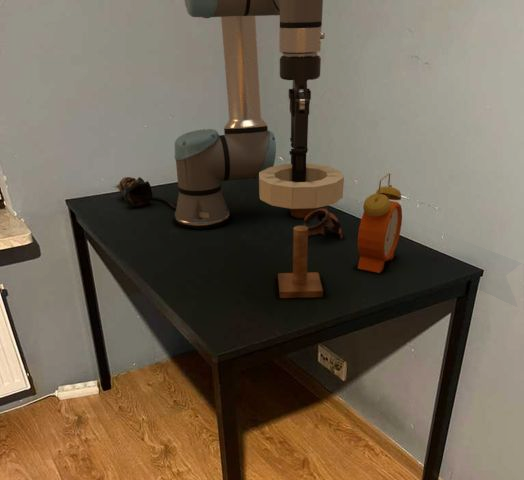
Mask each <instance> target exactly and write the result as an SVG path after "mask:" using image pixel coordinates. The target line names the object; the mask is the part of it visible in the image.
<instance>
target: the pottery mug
mask: <svg viewBox="0 0 524 480" xmlns="http://www.w3.org/2000/svg"><path fill="white" fill-rule="evenodd" d="M313 218H316V219H317V220H318V223H316V224H314V225H308V223H309V222H310V221H311V220H313ZM302 226H306V227H308V237H313V236H317V235H326V233H325V229H328V228H330V229H331V233H337V234H338V236H339V239H340V240H342V239H343V230H342V226H341V223H340V221H339V218H338V217H336V215H335V214H333V213H332V212H330V210H329V209H328V207H326V206H323V207H321V208H316V209H315V210H313V212H311V213H310V214H308V215H307V216H306V217H305V218H303V224H302Z"/></svg>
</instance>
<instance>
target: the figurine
mask: <svg viewBox="0 0 524 480" xmlns="http://www.w3.org/2000/svg"><path fill="white" fill-rule="evenodd" d="M118 184H119V185H118ZM118 184H117V188H118V190H119V193H120V197H121V198H122V199H123V198H124V200H125V202H126V203H127V204H128V206H129V207H130V208H131V209H135V208H136V207H142V206H148V205H150V204H152V202H151V200H152V199H151V198H152V197H153V190H152V186H151V184H150V182H149V181H148V180H147V181H145V180H144V179H143V178H142V177H141V176H139V177H138V178H135V177H131V176H126V177H123V178H122V179H121V180H120V181H119V182H118Z"/></svg>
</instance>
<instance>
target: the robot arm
mask: <svg viewBox="0 0 524 480" xmlns="http://www.w3.org/2000/svg"><path fill="white" fill-rule="evenodd" d="M184 5H185V8H186V12H187V14H188V16H190V17H192V18H203V19H210V18H220V21H221V23H220V24H221V35H222V47H223V59H224V73H225V74H224V75H225V82H226V83H225V86H226V87H225V88H226V99H227V111H228V121H227V123H226V124H225V125H224V126H223V131H224V134H219V132H218V130H216V129H212V128H208V129H204V128H203V129H197V130H192V131H189V132H186V133H182V134H181V135H180V136H177V138H176V139H175V141H174V160H175V166H176V177H177V186H178V197H177V202H176V205H174V204H173V203H172V202H170V200H168V199H166V198H163V197H160V196H159V197H158V196H152V198H151V199H150V200H157V201H161V202H164V203H166V204H167V205H168V206H170V208H172V209H174V210H175V212H174V222H175V224H176V225H177V226H179V227H182V228H185V229H190V230H207V229H214V228H218V227H220V226H223V225H225V224H227V223H228V222H229V221H230V211H229V208H228V206H227V203H226V200H225V198H224V194H223V192H222V182H225V181H227V182H228V181H236V180H245V179H246V180H248V179H257V178H259V172H261V171H263V170H265V169H267V168H269V167H274V166H275V161H276V155H277V142H276V136H275V134H274V133H273V131H271V130H268V129H269V127H268V123H267V122H266V121H265V120H264V119H263V118H262V108H261V107H262V105H261V104H262V103H261V90H260V72H259V71H260V70H259V52H258V35H257V34H258V33H257V20H256V19H257V17H264V16H265V17H267V16H276V17H277V16H279V29H278V30H279V31H278V32H279V33H278V40H279V41H278V42H279V43H278V45H279V46H278V47H279V48H278V50H279V53H280V54H282V55H281V56H280V57H279V78H280V79H282V80H285V81H292V88H288V99H289V113H290V138H289V140H290V146H291V149H290V150H289V155H290V164H292V182H306V164H307V154H308V151H309V148H308V141H309V140H308V139H309V137H308V136H309V115H310V103H311V99H312V90H311V89H310V88H308V81H314V80H317V79H319V78H320V77H321V68H322V67H321V65H322V63H321V62H322V58H321V56H320V55H318V54H319V53H320V52H321V51H322V41H321V40H324V39H325V38H326V35H325V33H324V32H322V27H323V8H324V7H323V5H324V0H184ZM118 185H119V183H118V184H117V186H118Z"/></svg>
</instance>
